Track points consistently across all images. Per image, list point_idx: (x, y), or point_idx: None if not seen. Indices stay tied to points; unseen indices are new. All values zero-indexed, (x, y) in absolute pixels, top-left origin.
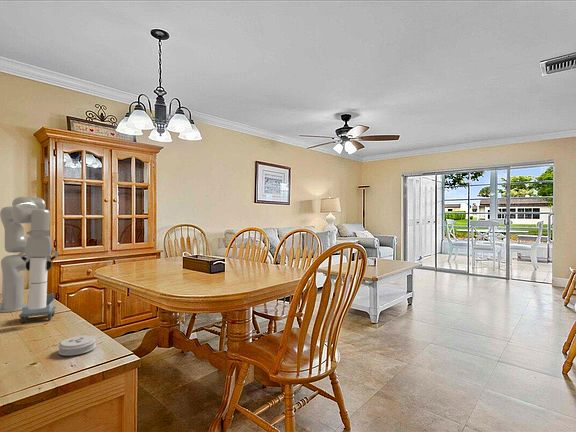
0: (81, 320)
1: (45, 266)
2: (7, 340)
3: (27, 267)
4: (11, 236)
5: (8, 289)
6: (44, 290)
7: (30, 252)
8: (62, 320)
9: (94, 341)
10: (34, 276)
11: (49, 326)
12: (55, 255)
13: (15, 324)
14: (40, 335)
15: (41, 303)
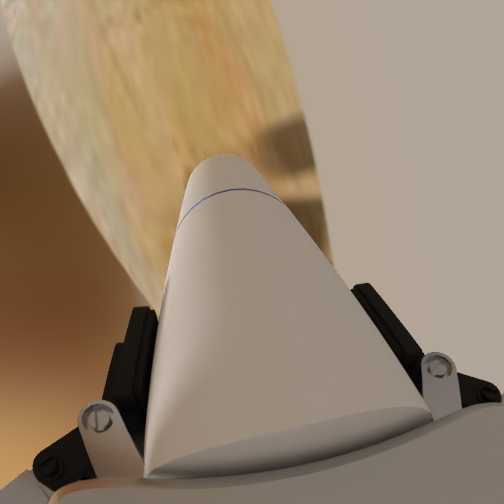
0: (77, 189)
1: (161, 327)
2: (268, 20)
3: (382, 304)
4: None
5: None
6: (184, 201)
7: (500, 493)
8: (144, 210)
9: None
10: (266, 211)
11: (168, 139)
12: (32, 492)
13: (295, 213)
14: (173, 33)
15: (198, 168)
